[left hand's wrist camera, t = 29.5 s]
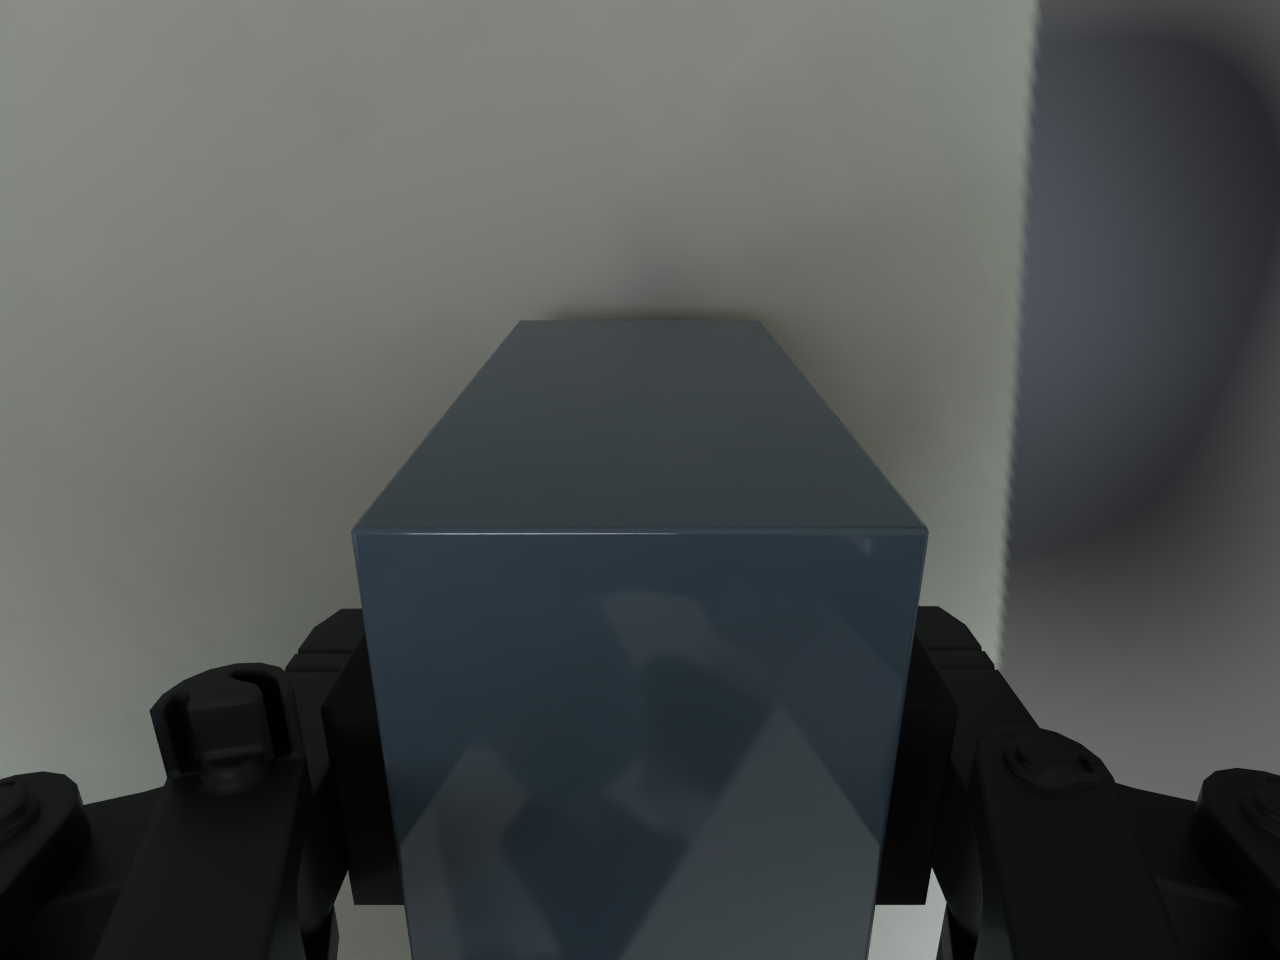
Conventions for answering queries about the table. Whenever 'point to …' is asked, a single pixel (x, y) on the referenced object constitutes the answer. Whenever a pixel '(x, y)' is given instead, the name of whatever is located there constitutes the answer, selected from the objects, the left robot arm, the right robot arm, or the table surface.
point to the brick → (639, 654)
